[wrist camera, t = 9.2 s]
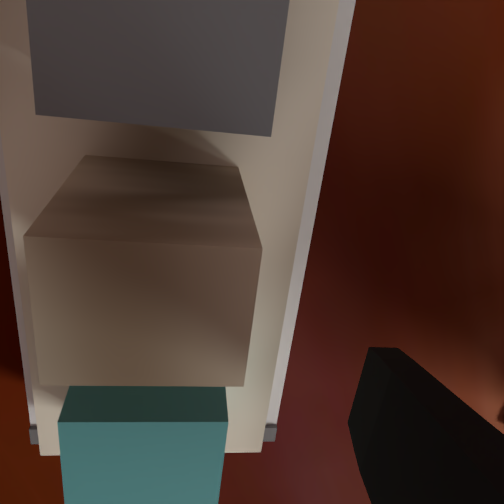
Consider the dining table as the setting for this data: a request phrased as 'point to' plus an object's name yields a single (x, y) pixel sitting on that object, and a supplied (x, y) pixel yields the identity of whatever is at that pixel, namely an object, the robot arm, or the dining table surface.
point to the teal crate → (142, 444)
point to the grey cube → (159, 61)
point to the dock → (303, 242)
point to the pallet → (262, 183)
